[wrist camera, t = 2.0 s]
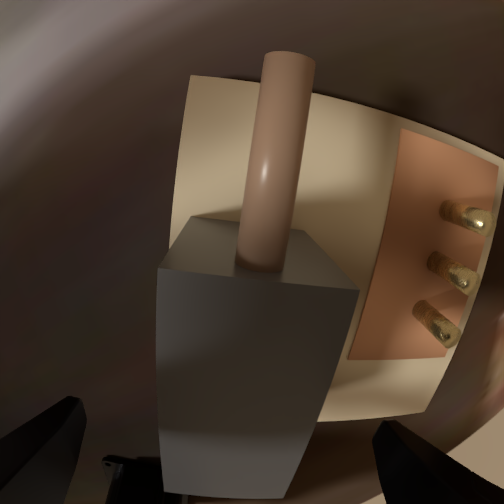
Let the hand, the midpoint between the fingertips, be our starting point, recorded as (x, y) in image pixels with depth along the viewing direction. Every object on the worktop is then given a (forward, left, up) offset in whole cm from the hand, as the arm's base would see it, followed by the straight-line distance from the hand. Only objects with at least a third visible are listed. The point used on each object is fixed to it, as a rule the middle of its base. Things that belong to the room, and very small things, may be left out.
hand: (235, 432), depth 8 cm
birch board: (+2, -5, -8) cm, 9 cm away
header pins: (+4, -9, -6) cm, 12 cm away
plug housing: (+3, 0, -6) cm, 7 cm away
